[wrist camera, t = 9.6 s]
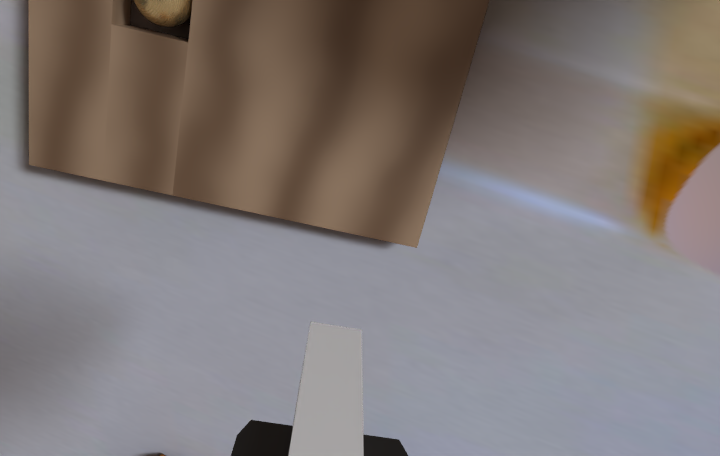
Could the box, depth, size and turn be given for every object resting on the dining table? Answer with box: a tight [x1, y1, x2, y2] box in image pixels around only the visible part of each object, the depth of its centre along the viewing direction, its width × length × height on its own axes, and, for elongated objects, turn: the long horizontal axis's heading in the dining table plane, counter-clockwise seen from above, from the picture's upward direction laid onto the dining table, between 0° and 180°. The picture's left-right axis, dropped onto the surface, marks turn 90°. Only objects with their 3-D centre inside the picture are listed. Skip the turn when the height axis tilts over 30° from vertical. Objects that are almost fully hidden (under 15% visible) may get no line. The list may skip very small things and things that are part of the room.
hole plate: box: [28, 0, 490, 248], centre depth 31 cm, size 26×24×2 cm
